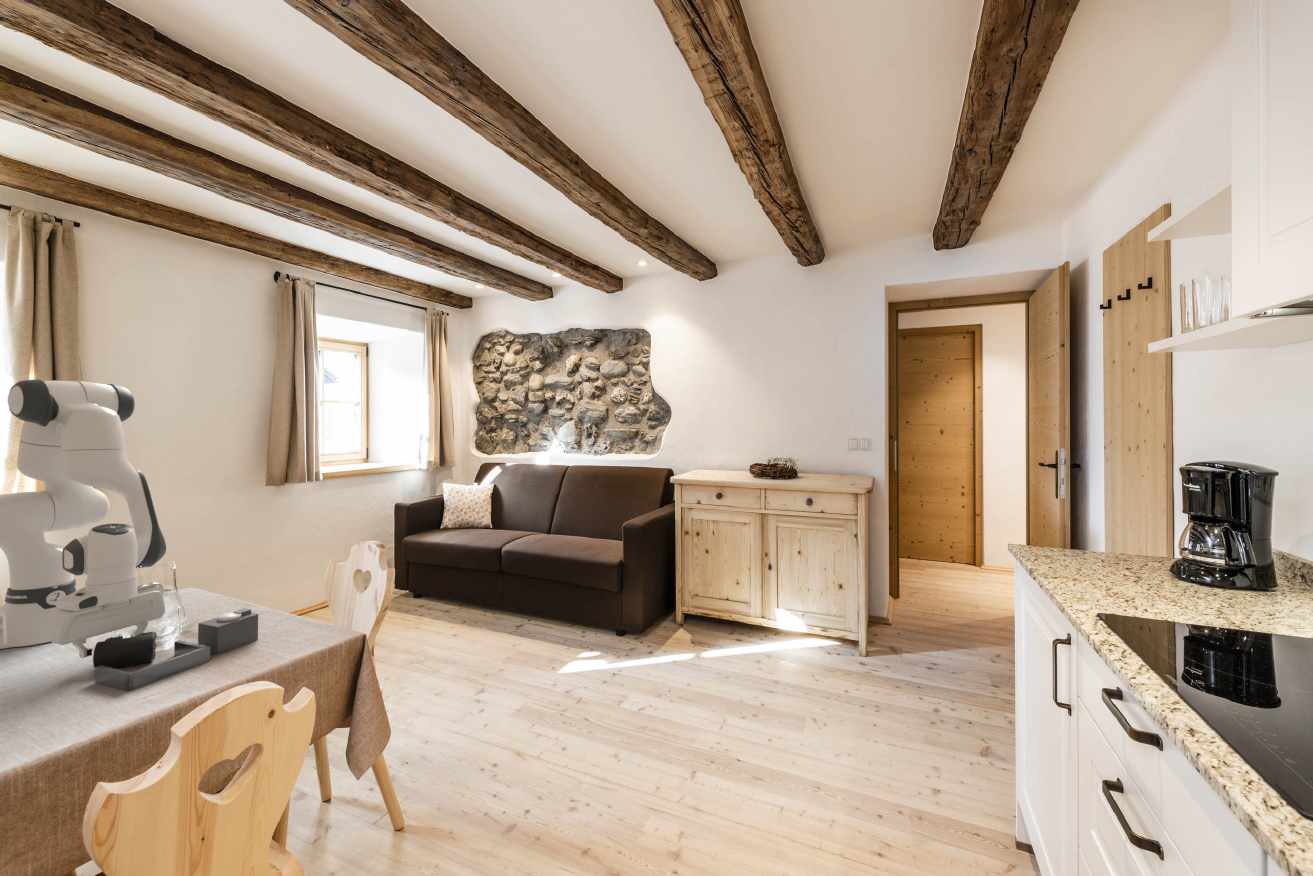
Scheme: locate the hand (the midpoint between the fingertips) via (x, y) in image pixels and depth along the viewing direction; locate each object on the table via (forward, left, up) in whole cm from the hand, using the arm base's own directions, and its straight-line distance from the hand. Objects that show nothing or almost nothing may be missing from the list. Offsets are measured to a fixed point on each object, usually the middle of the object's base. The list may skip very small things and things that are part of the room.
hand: (111, 648), depth 127 cm
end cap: (+6, 0, -3) cm, 6 cm away
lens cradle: (+16, 0, -3) cm, 16 cm away
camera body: (+16, +16, -3) cm, 23 cm away
